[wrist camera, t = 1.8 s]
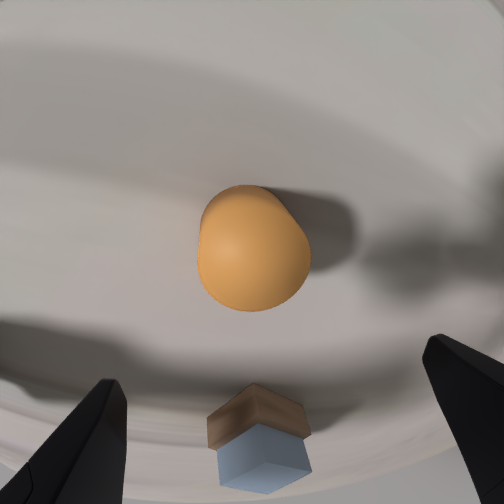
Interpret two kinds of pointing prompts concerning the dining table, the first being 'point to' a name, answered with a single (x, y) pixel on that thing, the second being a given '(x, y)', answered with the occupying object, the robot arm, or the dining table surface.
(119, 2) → the dining table surface
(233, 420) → the walnut base block
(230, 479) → the slate top block
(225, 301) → the orange cylinder
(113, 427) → the robot arm
